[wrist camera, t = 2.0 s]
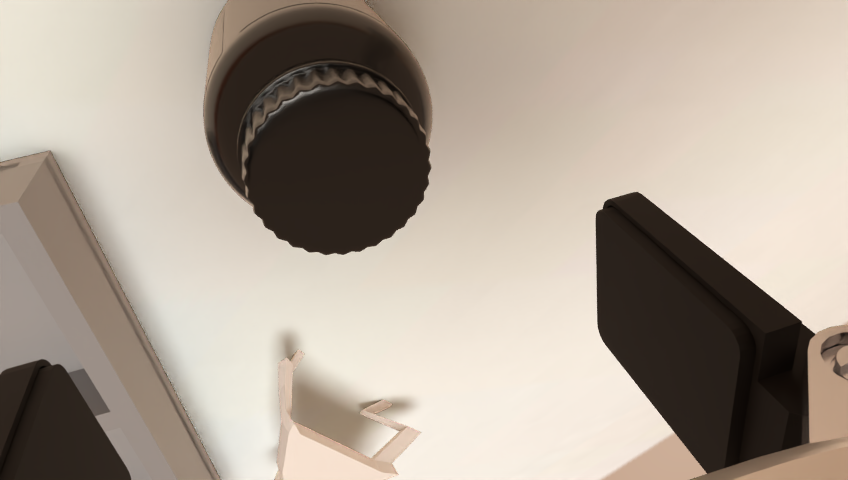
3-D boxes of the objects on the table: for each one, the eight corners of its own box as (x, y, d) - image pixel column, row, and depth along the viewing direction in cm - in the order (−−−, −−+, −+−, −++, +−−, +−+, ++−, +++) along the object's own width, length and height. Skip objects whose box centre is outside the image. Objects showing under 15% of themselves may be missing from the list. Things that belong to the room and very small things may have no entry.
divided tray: (49, 150, 26) (17, 201, 22) (221, 481, 37) (219, 552, 33) (-251, 221, 24) (-341, 288, 20) (22, 541, 36) (-3, 622, 32)
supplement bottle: (361, 147, 29) (427, 303, 19) (200, 118, 26) (177, 279, 16) (401, -11, 26) (504, 74, 16) (224, -60, 23) (212, 5, 13)
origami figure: (434, 427, 39) (457, 494, 35) (318, 495, 40) (327, 569, 36) (326, 300, 33) (338, 365, 28) (188, 383, 33) (182, 458, 29)
